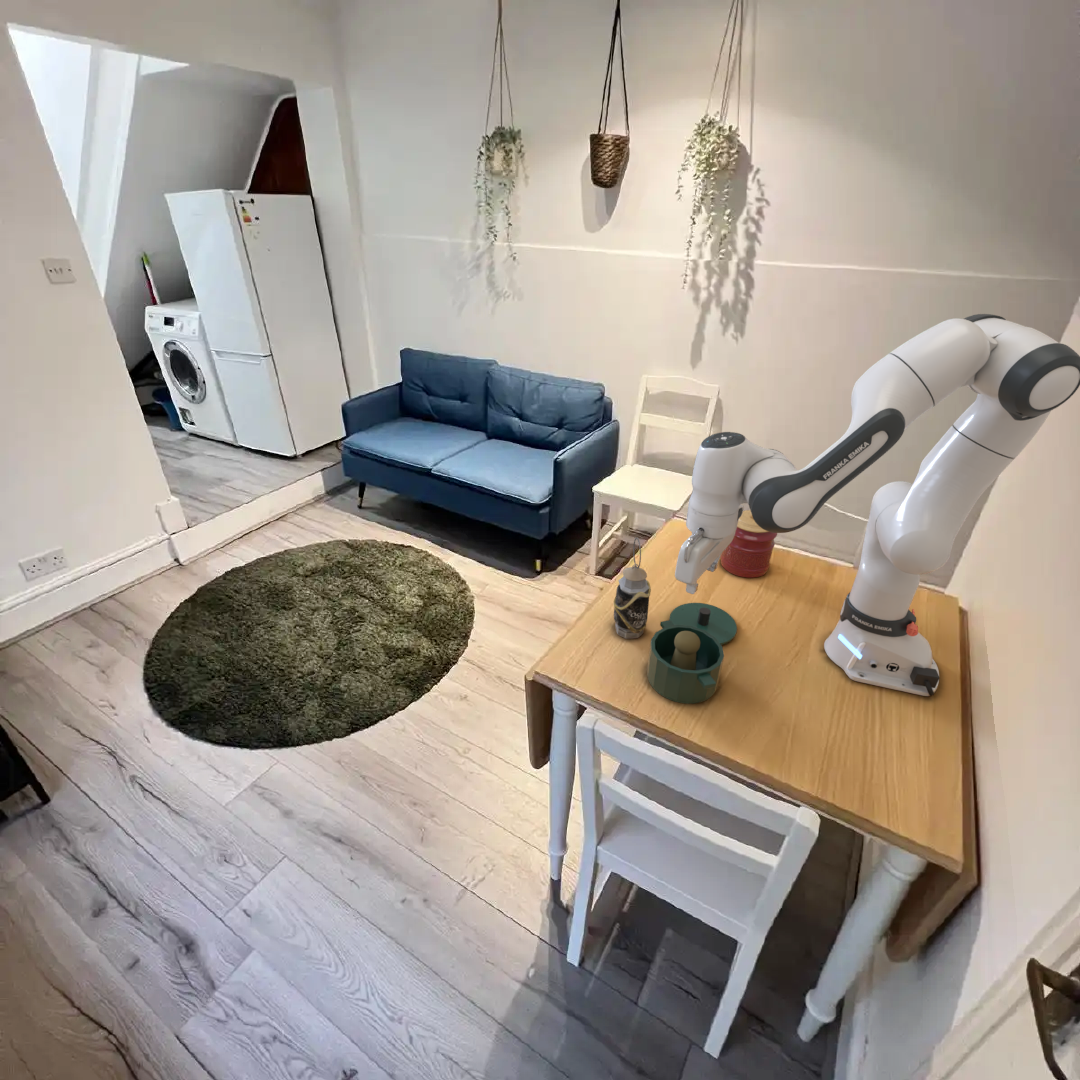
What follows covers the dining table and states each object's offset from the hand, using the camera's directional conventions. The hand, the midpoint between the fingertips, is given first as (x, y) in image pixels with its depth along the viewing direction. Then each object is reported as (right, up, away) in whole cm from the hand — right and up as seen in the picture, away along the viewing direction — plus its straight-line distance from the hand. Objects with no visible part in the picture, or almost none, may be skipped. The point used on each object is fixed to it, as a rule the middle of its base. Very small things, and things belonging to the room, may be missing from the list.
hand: (701, 580), depth 114 cm
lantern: (-11, -14, +23) cm, 29 cm away
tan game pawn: (-2, -21, +9) cm, 23 cm away
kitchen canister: (+25, +1, +47) cm, 53 cm away
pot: (-2, -22, +9) cm, 23 cm away
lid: (+7, -12, +24) cm, 28 cm away
